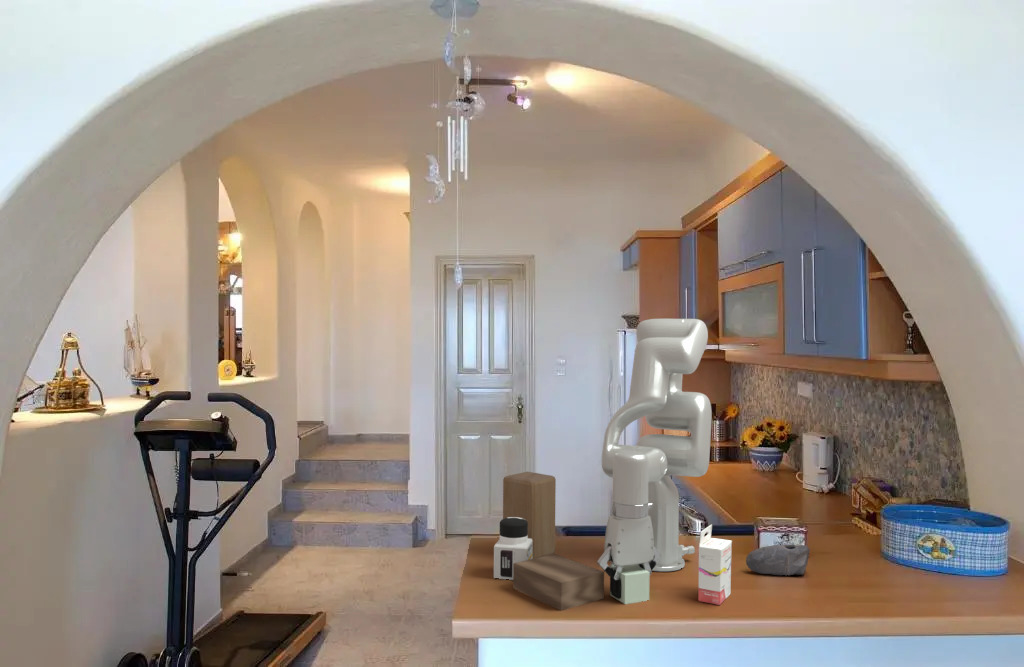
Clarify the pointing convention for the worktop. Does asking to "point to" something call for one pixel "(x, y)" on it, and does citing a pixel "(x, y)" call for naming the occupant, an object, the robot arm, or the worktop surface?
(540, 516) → the block
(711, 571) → the ink cartridge box
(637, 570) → the sage green cube
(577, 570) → the walnut block
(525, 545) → the container
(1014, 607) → the worktop surface
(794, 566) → the perforated stone tool
